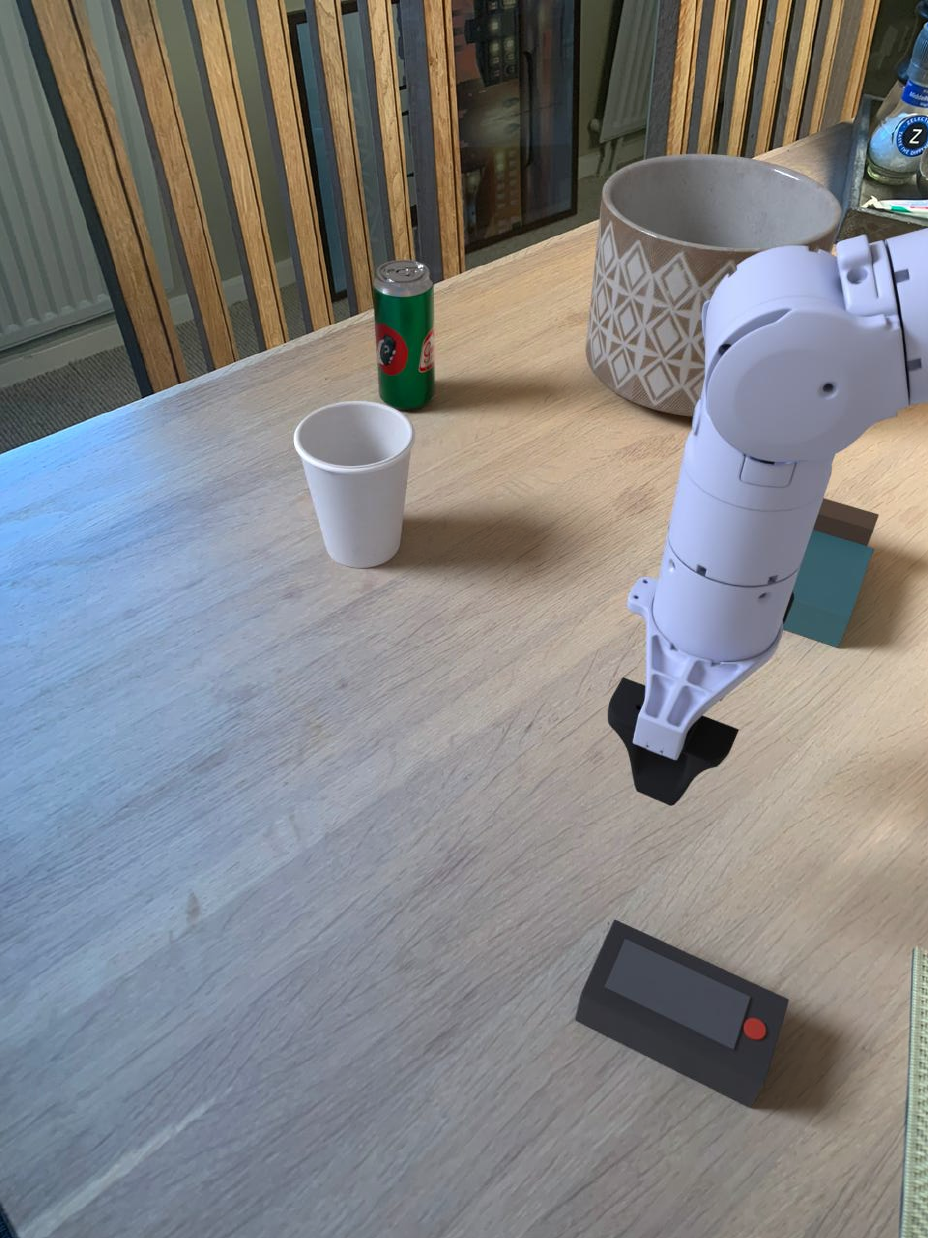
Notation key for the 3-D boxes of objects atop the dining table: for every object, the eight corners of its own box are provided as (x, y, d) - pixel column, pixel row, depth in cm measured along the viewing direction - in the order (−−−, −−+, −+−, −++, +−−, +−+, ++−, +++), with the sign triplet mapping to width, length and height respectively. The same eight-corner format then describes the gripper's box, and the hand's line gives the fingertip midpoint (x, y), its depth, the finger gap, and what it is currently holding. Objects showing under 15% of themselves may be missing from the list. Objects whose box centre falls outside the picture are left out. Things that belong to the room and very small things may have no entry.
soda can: (434, 414, 88) (432, 286, 79) (377, 413, 88) (369, 284, 79) (436, 383, 91) (434, 257, 83) (381, 382, 91) (374, 256, 83)
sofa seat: (837, 648, 68) (857, 601, 65) (684, 596, 72) (695, 549, 68) (867, 562, 74) (886, 516, 71) (725, 518, 78) (737, 472, 75)
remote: (775, 1025, 50) (790, 997, 47) (750, 1109, 47) (765, 1084, 45) (607, 946, 53) (614, 917, 50) (574, 1021, 50) (580, 993, 48)
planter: (694, 460, 83) (734, 273, 72) (541, 364, 94) (554, 188, 82) (834, 384, 92) (890, 206, 80) (680, 304, 103) (709, 137, 91)
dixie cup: (300, 517, 77) (286, 407, 70) (405, 501, 79) (401, 392, 72) (316, 588, 72) (302, 477, 65) (429, 570, 73) (427, 459, 66)
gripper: (699, 430, 48) (657, 626, 58) (581, 615, 39) (554, 812, 49) (845, 472, 46) (776, 669, 55) (757, 680, 37) (692, 873, 46)
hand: (681, 739), depth 52 cm, fingers open, 7 cm apart
